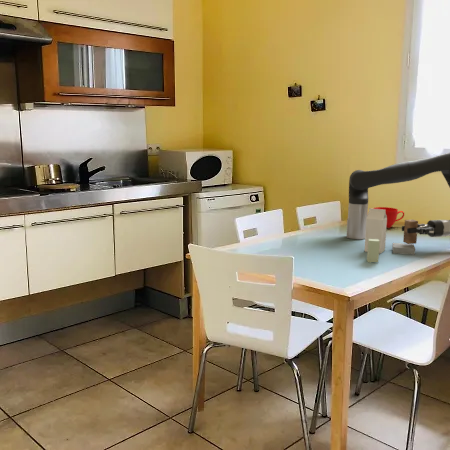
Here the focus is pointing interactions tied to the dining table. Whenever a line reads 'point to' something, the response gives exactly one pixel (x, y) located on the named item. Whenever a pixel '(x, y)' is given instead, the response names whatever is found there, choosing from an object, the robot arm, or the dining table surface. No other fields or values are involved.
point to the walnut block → (410, 237)
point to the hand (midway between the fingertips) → (405, 229)
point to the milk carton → (376, 227)
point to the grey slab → (403, 248)
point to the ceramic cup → (391, 215)
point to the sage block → (373, 250)
